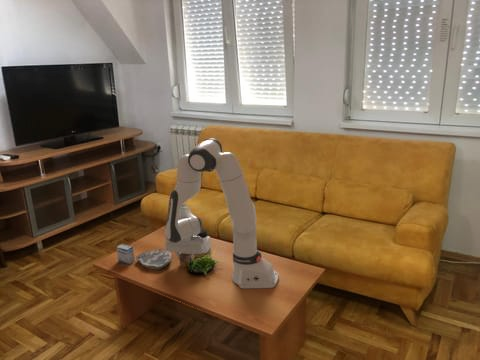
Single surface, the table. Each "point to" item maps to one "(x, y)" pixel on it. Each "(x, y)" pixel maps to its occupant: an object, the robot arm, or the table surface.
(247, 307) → the table surface
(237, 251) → the robot arm
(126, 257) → the medicine box
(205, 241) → the medicine bottle
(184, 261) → the walnut block
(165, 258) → the brain slice
